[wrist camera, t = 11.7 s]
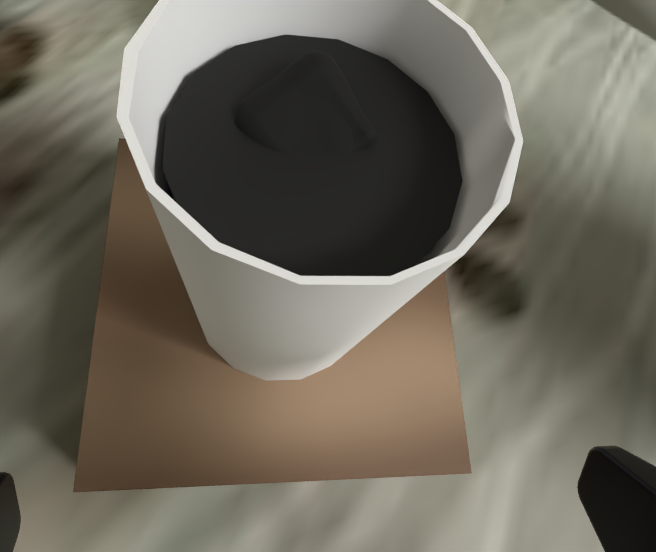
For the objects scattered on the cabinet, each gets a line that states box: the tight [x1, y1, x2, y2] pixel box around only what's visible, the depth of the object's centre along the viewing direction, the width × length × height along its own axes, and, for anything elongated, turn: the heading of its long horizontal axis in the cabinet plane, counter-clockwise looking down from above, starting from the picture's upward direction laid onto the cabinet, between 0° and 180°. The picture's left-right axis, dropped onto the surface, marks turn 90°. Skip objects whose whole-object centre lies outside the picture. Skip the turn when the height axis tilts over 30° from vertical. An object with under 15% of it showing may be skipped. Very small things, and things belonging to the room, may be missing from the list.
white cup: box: [117, 0, 523, 381], centre depth 13 cm, size 7×7×10 cm
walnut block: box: [73, 138, 471, 492], centre depth 19 cm, size 12×12×4 cm
